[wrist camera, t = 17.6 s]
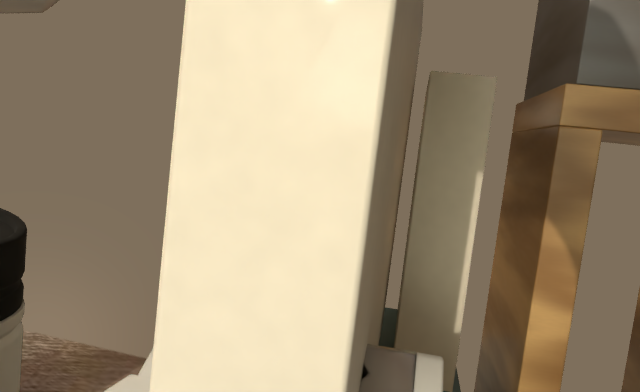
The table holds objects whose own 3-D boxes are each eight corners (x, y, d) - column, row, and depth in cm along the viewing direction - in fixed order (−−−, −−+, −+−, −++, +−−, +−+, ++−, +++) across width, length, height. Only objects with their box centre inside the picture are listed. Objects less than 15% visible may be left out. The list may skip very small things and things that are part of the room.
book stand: (464, 733, 23) (627, -314, 19) (449, 556, 33) (554, -156, 29) (706, 798, 21) (940, -318, 17) (614, 593, 31) (750, -150, 27)
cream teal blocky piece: (205, 664, 24) (266, 55, 22) (265, 515, 34) (312, 83, 32) (414, 720, 23) (507, 77, 20) (414, 549, 33) (477, 99, 30)
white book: (115, 722, 7) (217, -375, 6) (330, 312, 26) (366, 24, 25) (297, 777, 7) (445, -381, 6) (383, 321, 26) (421, 29, 24)
